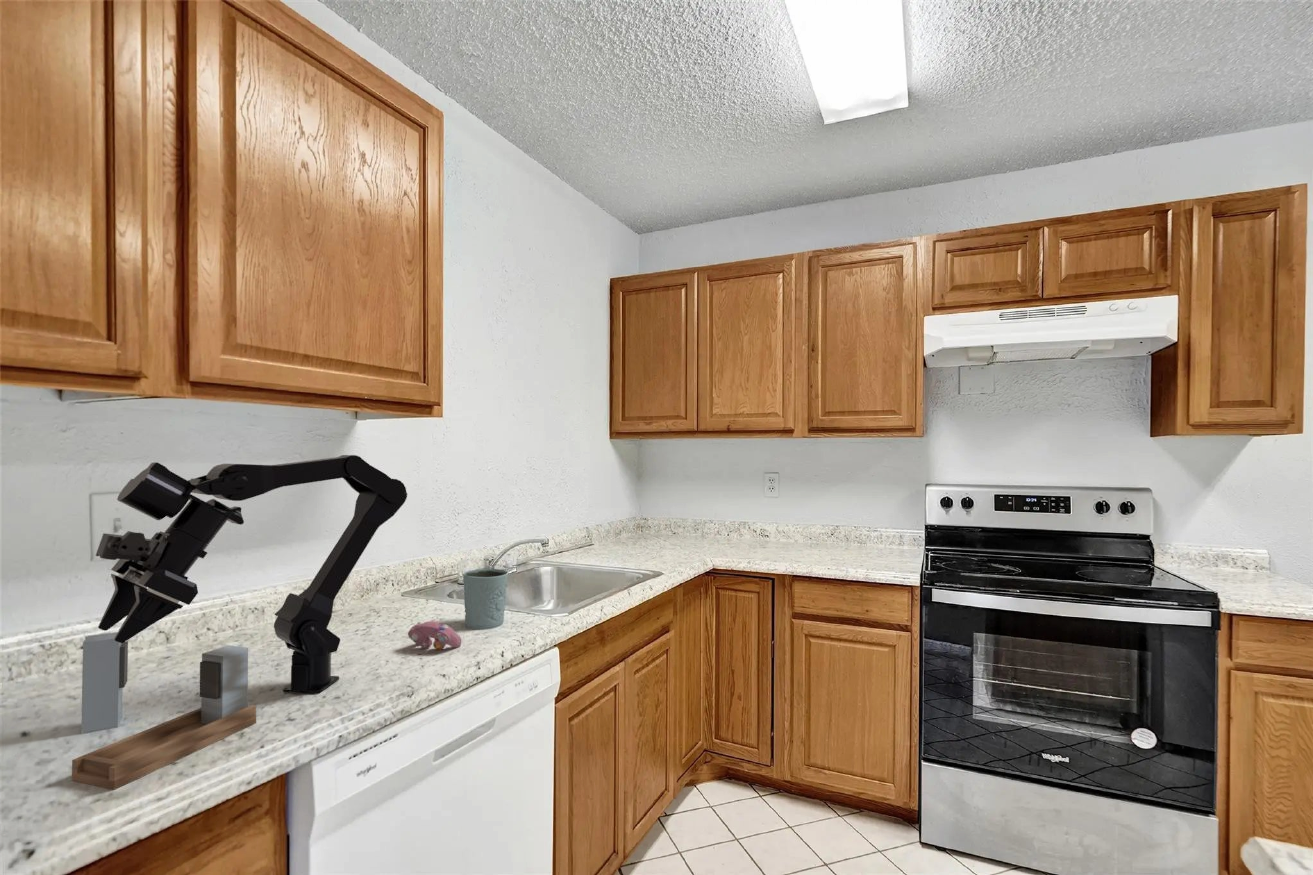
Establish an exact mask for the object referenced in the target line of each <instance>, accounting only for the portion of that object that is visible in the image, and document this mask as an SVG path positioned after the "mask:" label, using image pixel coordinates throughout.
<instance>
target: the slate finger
mask: <svg viewBox="0 0 1313 875" xmlns="http://www.w3.org/2000/svg"><path fill="white" fill-rule="evenodd" d="M117 633H118V631H116V632H108V633H101V634H92V635H91V634H90V635H88V636H87V637H86V638H85V640H83V641H82V666H81V667H82V668H81V670H82V675H81V676H82V677H81V678H82V680H81V730H80V733H81V734H86V733H87V734H88V733H93V732H98V731H102V730H109V729H113V728H119V725H120V723H121V721H122V718H123V690H124V689H123V688H125V687H126V684H127V683H128V673H129V672H128V669H129V666H128V662H129V658H128V657H129V656H128V655H129V654H128V653H129V642H128V641H129V640H127V641H125V642H124V643H120V642H117V641H115V640H114V638H115V637H116V635H117Z"/></svg>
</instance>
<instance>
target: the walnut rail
mask: <svg viewBox="0 0 1313 875" xmlns="http://www.w3.org/2000/svg"><path fill="white" fill-rule="evenodd" d="M248 687H249V647H245V646H238V645H237V646H236V645H224V646H221V647H218V648H215V649H213V650H209V651H205V652H203V653H202V654H201V661H199V698H201V701H200V703H201V704H200V706H201V707H199V708H197V709H194V710H191V711H190V712H187V713H184V714H182V715H180V716H177V717H175V718H172V719H169V720H167V721H165V722H162V723H159V724H157V725H154V726H152V727H150V728H147V729H145V730H143V731H140V732H137V733H135V734H133V735H130V736H128V737H125V738H123V739H121V740H118V741H115V742H113V743H110V744H108V745H106V746H103V747H101V748H98V749H95V750H94V751H91V752H88V753H86V754H84V755H81V756H78V757H75V758H73V759H72V760H71V781H73V782H78V783H81V784H87V785H90V786H91V785H92V786H96V787H101V788H105V789H111V790H114V791H115V790H116V789H119V788H121V787H123V786H125V785H127V784H129V783H132V782H133V781H135V780H138V779H140V778H142V777H145V776H146V775H148V774H150V773H153V772H155V771H157V770H160V769H161V768H163V767H165V766H167V765H169V764H171V763H174V762H176V761H178V760H180V759H182V758H185V757H187V756H189V755H191V754H193V753H195V752H197V751H199V750H202V749H203V748H206V747H208V746H210V745H213V744H214V743H217V742H218V741H222V740H223V739H225V738H227V737H229V736H231V735H233V734H235V733H238V732H240V731H242V730H244V729H246V728H248V727H251V726H252V725H255V724H257V706H256V705H252V704H251V705H249V706H248V702H249V701H248V700H249V699H248V698H249V697H248V696H249V688H248Z"/></svg>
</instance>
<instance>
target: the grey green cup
mask: <svg viewBox="0 0 1313 875" xmlns="http://www.w3.org/2000/svg"><path fill="white" fill-rule="evenodd" d="M462 575H463V590H464V593H463V595H464V597H463V600H464V602H463V603H464V612H465V615H464V620H465V621H464V622H465V624H464V625H465V627H467V628H468V629H471V630H488V629H489V630H490V629H494V628H498V627H501V626H503V624H504V620H505V610H506V609H505V608H506V598H507V588H508V578H509V571H508V570H504V569H499V568H480V569H479V568H478V569H471V570H467V571H464V573H463V574H462Z"/></svg>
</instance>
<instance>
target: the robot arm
mask: <svg viewBox="0 0 1313 875" xmlns="http://www.w3.org/2000/svg"><path fill="white" fill-rule="evenodd" d="M336 479H343V480H344V481H345V482H346V483H347V485H348V486H350V487H351V489H353V490H354V491H355V493H356V492H357V493H358V496H357V498H356V501H355V504H354V505H355V506H354V513H353V517H352V519H351V520H350V522H349V524H348V525H347V527H346V528H345V530H344V531H343V533H342V534H341V536H340V537H339V539H338V541H337V542H336V544H335V545H334V547H333V548H332V550H331V551H330V553H329V555H328V556H327V558H326V559H325V561H324V563H323V564H322V565H321V567H320V569H319V570H318V572H317V573H316V574H315V577H313V579H312V581H311V582H310V584H309V585H308V586H307V588H306V589H305V590H303V591H302V592H301V593H299V595H297V594H295V593H292V592H291V593H288V595H287V596H286V598H285V600H284V603H283V605H282V606H281V607H280V609H278V611H276V612H275V613H274V615H275V616H276V618H275V621H274V623H273V628H274V633H275V635H276V637H277V639H280V640H281V641H283V642H284V644H285V646H286V648H287V649H289V650H292V655H291V667H290V684H288V685H287V686H285V687H283V688H282V689H281V690H282V692H283V693H305V694H306V693H309V694H313V693H315V694H316V693H318V694H319V693H321V692H322V691H324V690H326V689H327V688H328V687H330V686H331V685H333V684H334V683H335V682H338V681H339V680H340V676H339V675H332V670H331V669H332V654H333V653H335V652H337V650H338V649H339V645H340V642H341V638H340V637H339V636H337V635H336V634H335V633H334V632H332V631H331V630H329V629H328V626H329V624H330V622H331V620H332V616H333V615H332V614H333V609H334V601H335V599H336V597H337V595H338V593H339V592H340V591H341V589H342V588H343V585H344V584H345V582H346V580H347V579H348V578H349V577H350V576H349V575H350V574H351V572H352V571H353V569H354V568H355V566H356V564H357V563H358V561H359V560H360V558H361V556H362V555H363V553H364V551H365V550H366V549H367V546H368V545H369V543H370V541H371V540H372V539H373V537H374V536H375V534H376V532H377V531H378V529H379V528H380V527H381V526H382V525H383V524H385V523H386V522H387V521H389V520H390V519H391V518H393V516H395V515H396V513H397V512H398V511H399V510H400V508H402V506H404V504H405V502H406V501H407V498H408V492H407V487H406V486H405V484H404V483H403V482H402V481H401V480H399V479H397V478H391V477H390V476H389V475H388V474H386V473H384V472H383V471H381V470H379V469H378V468H376V467H375V466H372V465H371V464H370V463H368V462H367V461H365V460H364V459H363V458H362V457H361V456H359V455H357V454H356V455H355V454H342V455H340V456H336V457H328V458H319V459H312V460H311V459H310V460H303V461H295V462H287V463H278V464H244V463H221V464H217V465H215V466H213V467H212V468H211V469H210V470H209V471H208V473H207V474H205V475H202V476H198V477H195V478H193V477H191V479H188V480H187V479H185V478H183V477H182V476H180V475H178V474H176V473H175V472H173V471H171V470H169V469H168V467H166V466H165V465H163V464H162V463H159V462H157V461H156V462H151V463H150V464H149V465H148V466H147V468H145V469H143V470H141V471H140V472H139V473H138V474H137V475H136V476H135V477H133V478H130V479H129V481H128V482H127V483H126V484H125V486H124V487H123V488H122V490H121V491H120V492H119V494H118V496H117V498H116V500H117V502H120V503H122V504H125V505H126V506H128V507H130V508H132V509H134V510H135V511H138V512H140V513H142V514H144V515H146V516H148V517H150V518H152V519H154V520H156V521H161V520H163V519H164V518H166V517H167V518H168V519H172V518H174V517H176V518H174V520H173V521H172V522H171V524H170V525H169V526H168V527H167V528H166V530H165V531H159V532H155V534H154V535H152V537H151V538H146V537H145V534H144V533H142V532H135V531H129V530H128V531H127V532H126V533H125V534H123V535H120V534H113V533H103V534H102V537H101V540H100V541H99V543H98V544H99V545H98V548H97V550H96V553H95V556H96V557H99V558H100V559H103V560H104V559H105V560H111V561H116V560H118V561H116V563H115V564H114V565H113V567H111V569H110V570H111V571H112V572H115V573H118V575H116V574H114V573H111V574H110V577H111V579H112V581H113V586H114V592H113V594H112V596H111V598H110V600H109V603H108V605H107V607H106V608H105V611H104V613H103V616H102V617H101V620H100V622H99V624H98V626H97V629H99V630H101V631H108V630H110V629H111V628H112V627H113V626H115V625H116V624H118V623H119V622H121V621H122V620H123V619H124V621H123V623H122V624H121V626H120V628H118V629H119V630H118V631H117V632H118V633H117V635H116V637H115V638H114V640H115V641H117V642H120V643H124V642H126V641H129V640H130V639H132V638H134V636H136V635H139V633H141V632H142V631H145V629H148V628H149V627H150V626H152V625H154V624H155V623H157V622H159V621H160V620H162V619H164V618H165V617H167V616H168V615H170V614H172V613H173V612H175V611H177V610H181V609H183V607H184V605H183V604H185V605H188V606H189V605H190V604H191V603H192V602H193V600H194V599H195V598H196V596H197V595H199V590H198V585H197V583H196V582H193V581H191V580H188V579H189V577H188V576H186V575H187V574H188V572H189V571H190V569H191V568H192V566H193V565H194V564H195V563H196V562H197V560H198V559H199V558H200V559H204V558H205V557H206V556H207V554H208V551H205V550H206V549H207V547H208V546H209V545H210V543H212V541H213V539H214V538H215V537H216V535H217V534H218V533H219V531H221V529H222V528H223V526H224V525H225V524H226V523H227V522H230V523H231V524H235V525H243V524H245V522H244V518H243V516H242V507H241V506H236V505H235V506H231V507H229V506H227V505H225V504H223V503H222V502H220V501H218V500H216V499H219V500H226V501H232V502H233V501H234V502H238V501H239V502H240V501H247V500H248V499H249V500H250V499H252V498H255V497H258V496H262V495H264V494H267V493H269V492H271V491H274V490H277V489H279V488H283V487H291V486H295V485H303V484H309V483H311V484H312V483H317V482H323V481H329V480H330V481H331V480H336ZM191 493H192V494H191ZM194 494H197V495H198V494H199V495H206V496H212V497H214V498H212V499H209V500H207V501H206V500H205V501H204V500H202V498H198V497H196V496H195V495H194ZM215 498H216V499H215ZM180 602H181V603H183V604H181V603H180Z"/></svg>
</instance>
